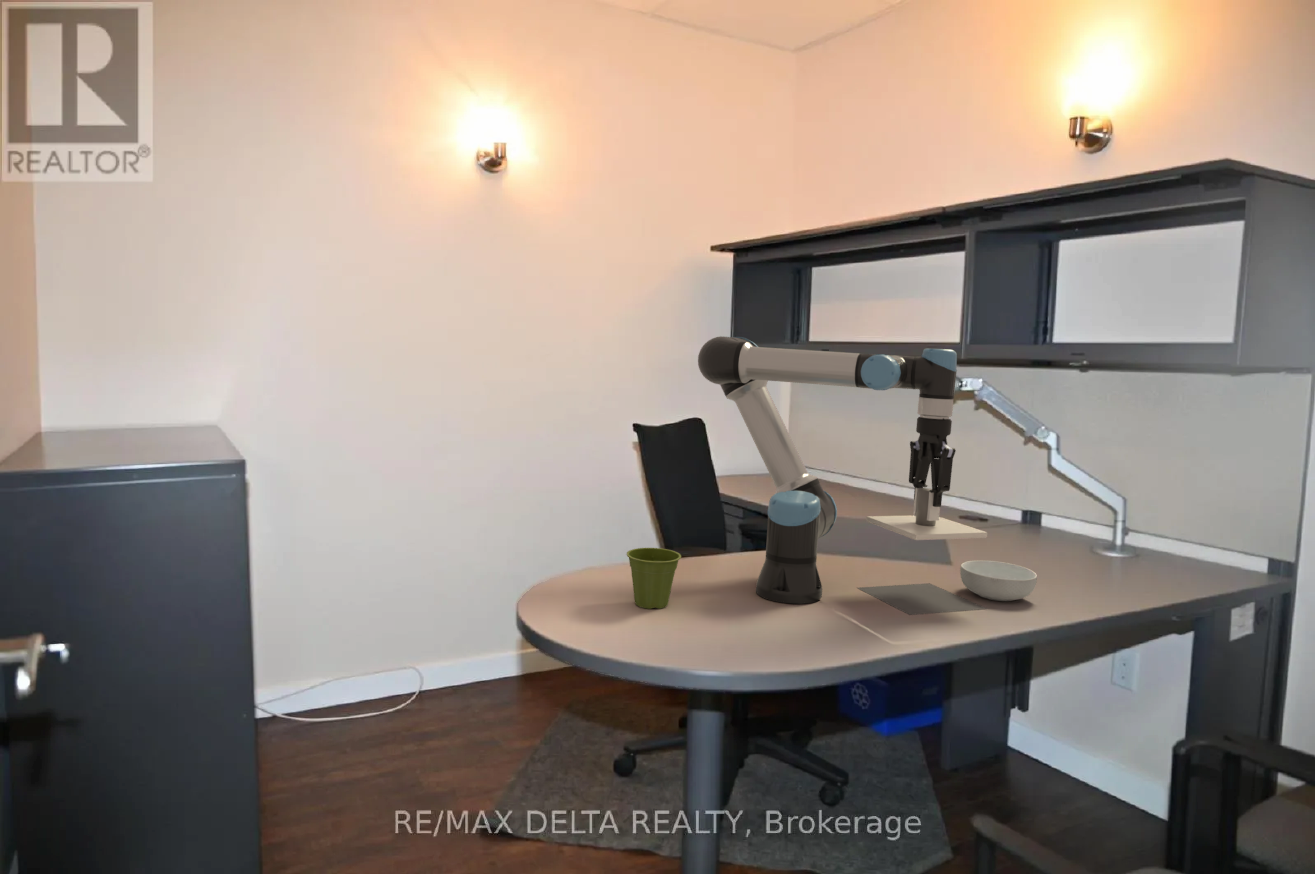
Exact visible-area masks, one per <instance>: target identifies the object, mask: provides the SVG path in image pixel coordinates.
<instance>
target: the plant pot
mask: <svg viewBox="0 0 1315 874" xmlns="http://www.w3.org/2000/svg"><path fill="white" fill-rule="evenodd" d="M626 556H627V557H628V561H629V567H630V570H631V580H632V590H633V598H634V603H635V605H636V606H638V607H639V608H642V609H643V608H644V609H645V610H646V609H648V610H651V609H654V608H655V609H663V608H666V607H668V604H669V601H670V595H671V591H672V587H673V583H674V582H673V581H674V577H675V574H676V570H677V568H678V562H679V560H681V558H682V554H681V553H679V552H677V551H675V550H671V549H668V548H667V549H666V548H660V547H638V548H633V549H630V550H627V552H626Z"/></svg>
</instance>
